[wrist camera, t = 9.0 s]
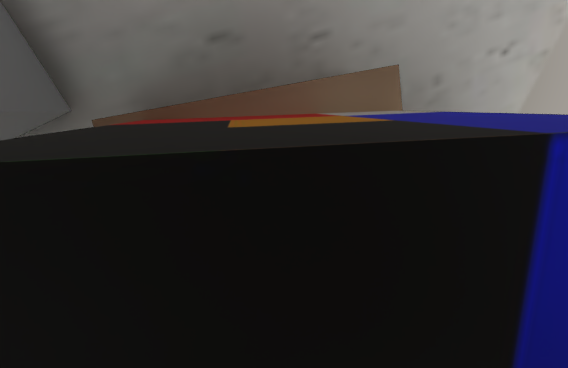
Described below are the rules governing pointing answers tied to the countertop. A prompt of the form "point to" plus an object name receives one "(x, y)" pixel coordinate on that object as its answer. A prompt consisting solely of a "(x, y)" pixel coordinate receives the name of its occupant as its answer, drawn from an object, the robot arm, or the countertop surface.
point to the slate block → (23, 85)
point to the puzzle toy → (288, 243)
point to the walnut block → (289, 99)
